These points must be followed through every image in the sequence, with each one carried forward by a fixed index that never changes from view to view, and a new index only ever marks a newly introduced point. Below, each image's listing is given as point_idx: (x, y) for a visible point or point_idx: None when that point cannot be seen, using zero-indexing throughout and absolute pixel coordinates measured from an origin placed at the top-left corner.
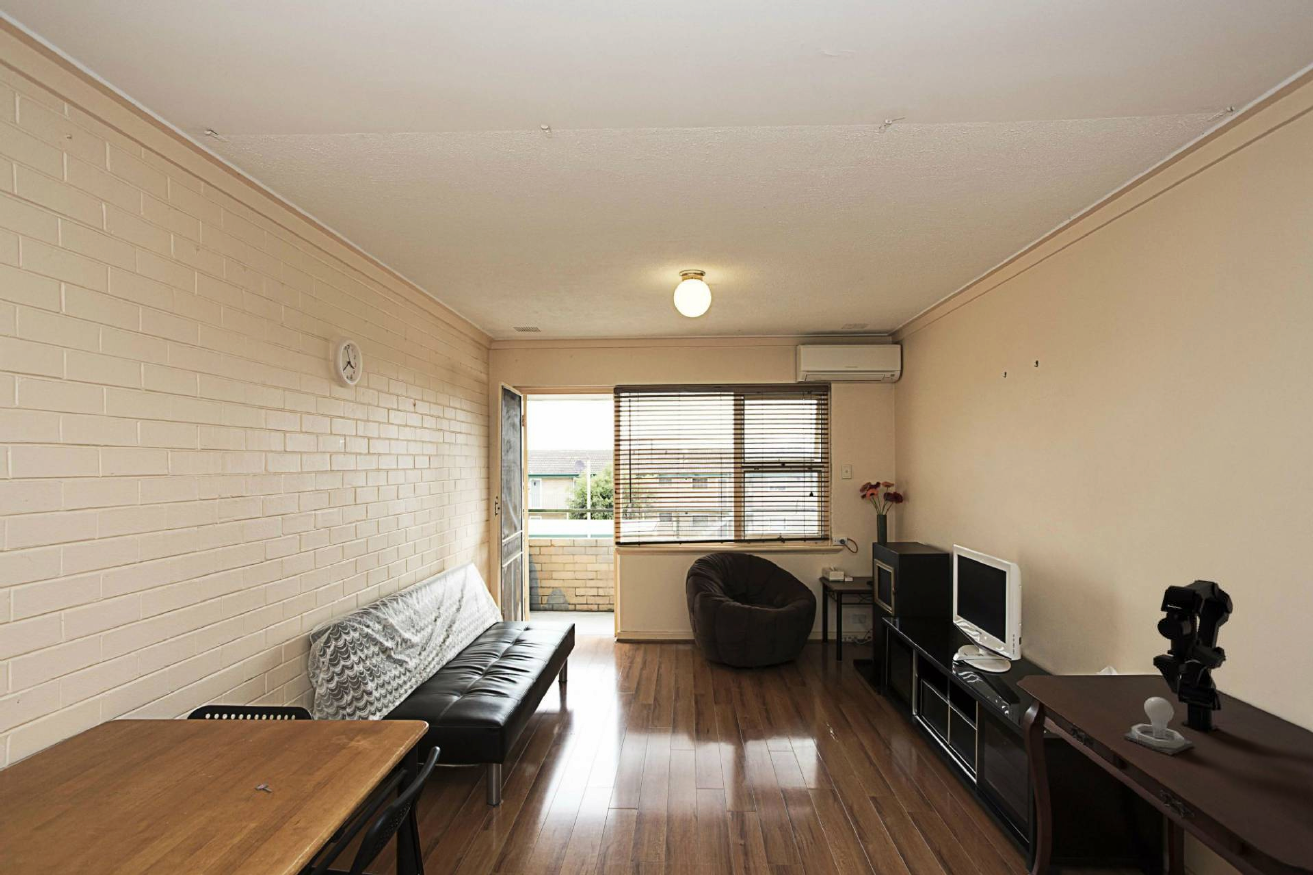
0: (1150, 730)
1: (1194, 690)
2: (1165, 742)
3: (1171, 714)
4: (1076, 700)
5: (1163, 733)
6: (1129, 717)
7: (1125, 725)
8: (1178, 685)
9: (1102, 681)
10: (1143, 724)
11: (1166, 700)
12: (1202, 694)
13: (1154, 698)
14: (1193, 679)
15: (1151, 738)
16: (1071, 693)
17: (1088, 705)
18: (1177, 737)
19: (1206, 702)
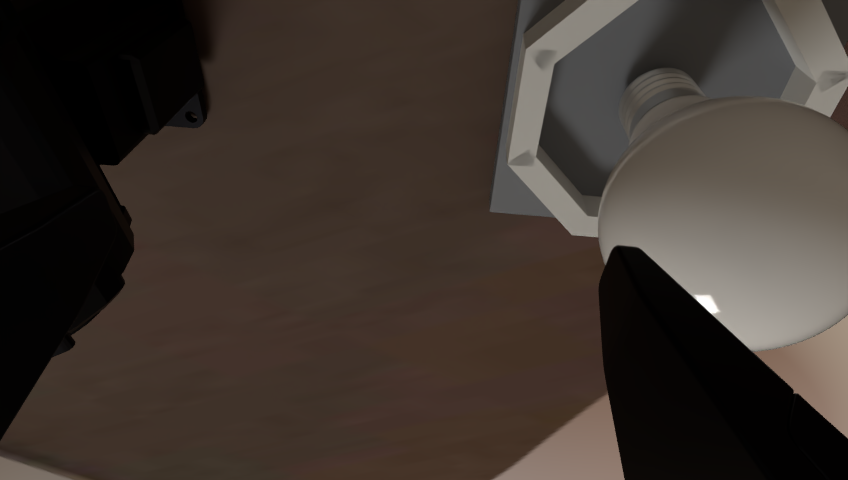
0: (560, 174)
1: (33, 192)
2: (829, 20)
3: (808, 110)
4: (395, 444)
5: (695, 87)
6: (381, 295)
7: (515, 272)
8: (705, 341)
9: (93, 451)
10: (568, 221)
11: (730, 251)
12: (5, 104)
13: (812, 332)
14: (19, 298)
15: (830, 107)
16: (338, 468)
17: (406, 413)
18: (616, 10)
19: (24, 37)
